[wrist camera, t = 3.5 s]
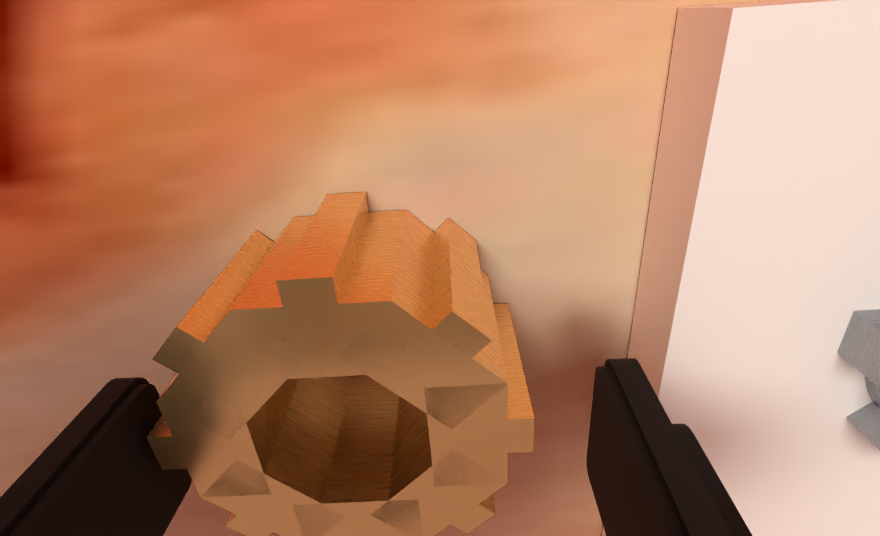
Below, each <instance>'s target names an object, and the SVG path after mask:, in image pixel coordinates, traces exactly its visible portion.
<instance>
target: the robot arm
mask: <svg viewBox="0 0 880 536" xmlns="http://www.w3.org/2000/svg"><path fill="white" fill-rule="evenodd" d="M159 398H160V396H159V394H158V392H157V390H156V388H155V386H153V385H152V384H149V382H148V381H147V380H146V379H144V378H116V379H113V380H111V381H110V382H108V383H107V384H106V385H105V386H104V387H103V388H102V389H101V391H100V392H99V393H98V394H97V395H96V396H95V397H94V398H93V399H92V400H91V401H90V402H89V403H88V404H87V406H86V407H85V408H84V409H83V410H82V411H81V412H80V413H79V414H78V415H77V416H76V417H75V418H74V419H73V421H72V422H71V423H70V424H69V425H68V426H67V427H66V428H65V429H64V430H63V431H62V432H61V433H60V434H59V435H58V437H57V438H56V439H55V440H54V441H53V442H52V443H51V444H50V445H49V446H48V447H47V448H46V449H45V450H44V452H43V453H42V454H41V455H40V456H39V457H38V458H37V459H36V460H35V461H34V462H33V463H32V464H31V465H30V467H29V468H28V469H27V470H26V471H25V472H24V473H23V474H22V475H21V476H20V477H19V478H18V479H17V480H16V481H15V483H14V484H13V485H12V486H11V487H10V488H9V489H8V490H7V491H6V492H5V493H4V494H3V495H2V496H1V498H0V536H163V534H164V533H165V531H166V529H167V527H168V525H169V524H170V522H171V520H172V518H173V516H174V515H175V513H176V511H177V509H178V507H179V506H180V504H181V502H182V500H183V498H184V497H185V495H186V493H187V491H188V489H189V487H190V485H191V481H192V479H191V477H190V475H189V472H188V470H187V469H170V470H162V468H161V466H160V464H159V462H158V460H157V458H156V456H155V454H154V452H153V450H152V448H151V446H150V444H149V442H148V440H147V436H148V435H149V433H150V432H151V430H152V429H153V427H154V426H155V424H156V423H157V422H158V420H159V419H160V417H161V416H162V413H161V411H160V409H159V407H158V404H157V400H158V399H159ZM587 470H588V476H589V479H590V483H591V486H592V489H593V493H594V496H595V500H596V503H597V506H598V510H599V513H600V516H601V520H602V523H603V527H604V530H605V533H606V536H752V534H751V532H750V530H749V529H748V527H747V525H746V523H745V522H744V520H743V518H742V516H741V515H740V513H739V511H738V510H737V508H736V506H735V504H734V503H733V501H732V499H731V497H730V496H729V494H728V492H727V490H726V489H725V487H724V485H723V484H722V482H721V480H720V478H719V477H718V475H717V473H716V471H715V470H714V468H713V466H712V465H711V463H710V461H709V459H708V458H707V456H706V454H705V452H704V451H703V449H702V447H701V445H700V444H699V442H698V440H697V439H696V437H695V435H694V433H693V432H692V431H691V429H690V428H689V427H688V426H687V425H685V424H672V423H671V421H670V419H669V417H668V415H667V414H666V412H665V410H664V408H663V406H662V404H661V402H660V401H659V399H658V397H657V395H656V393H655V391H654V389H653V388H652V386H651V384H650V382H649V380H648V378H647V376H646V375H645V373H644V371H643V369H642V367H641V365H640V363H639V362H638V360H637V359H635V358H626V359H607V360H606V362H605V365H604V367H597V368H596V372H595V381H594V391H593V401H592V411H591V421H590V430H589V440H588V450H587Z"/></svg>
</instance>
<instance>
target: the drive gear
mask: <svg viewBox="0 0 880 536" xmlns="http://www.w3.org/2000/svg"><path fill="white" fill-rule="evenodd" d="M837 352H838V353H839V354H840V355H841V356H842V357H844V358H845V359H846V360H847V361H848V362H849V363H851V364H852V365H853V366H854V367H855V368H856V369H857V370H859V371H860V372H861V373H862V374H863V375H864V377H865V383H866V388H867V392H868V394H869V396H870V399H871V401H872V402H871V403H869V404H867V405H866V406H864V407H862V408H860V409H859V410H857V411H855V412H854V413H852V414H850V415H848V416H847V418H848V419H849V420H850V421H851V422H852V423H853V424H854V425H855V426H856V427H857V428H858V429H859V430H860V431H861V432H862V433H863V434H864V435H865V436H866V437H867V438H868V439H869V440H870V441H871V443H872V444H873V445H874V446H875V447H876V448H877V449H878V450H879V451H880V309H877V310H859V311H853V314H852V316H851V319H850V321H849V324H848V326H847V329H846V331H845V334H844V336H843V339H842V341H841V344H840V346H839V349H838V351H837Z"/></svg>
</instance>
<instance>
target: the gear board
mask: <svg viewBox="0 0 880 536" xmlns="http://www.w3.org/2000/svg"><path fill="white" fill-rule="evenodd" d="M877 309H880V0H777V1H764V2H751V3H737V4H724V5H710V6H697V7H684V8H678V13H677V20H676V27H675V34H674V40H673V47H672V54H671V61H670V68H669V75H668V82H667V89H666V96H665V102H664V109H663V116H662V123H661V130H660V137H659V144H658V151H657V158H656V164H655V171H654V178H653V185H652V192H651V199H650V206H649V213H648V219H647V226H646V233H645V240H644V247H643V254H642V261H641V268H640V275H639V281H638V288H637V295H636V302H635V309H634V316H633V323H632V330H631V336H630V343H629V350H628V357H627V358H635V359H637V360H638V362H639V363H640V365H641V367H642V369H643V371H644V373H645V375H646V376H647V378H648V380H649V382H650V384H651V386H652V388H653V389H654V391H655V393H656V395H657V397H658V399H659V401H660V402H661V404H662V406H663V408H664V410H665V412H666V414H667V415H668V417H669V419H670V421H671V423H672V424H685V425H687V426H688V427H689V428H690V429H691V431H692V432H693V433H694V435H695V437H696V439H697V440H698V442H699V444H700V445H701V447H702V449H703V451H704V452H705V454H706V456H707V458H708V459H709V461H710V463H711V465H712V466H713V468H714V470H715V471H716V473H717V475H718V477H719V478H720V480H721V482H722V484H723V485H724V487H725V489H726V490H727V492H728V494H729V496H730V497H731V499H732V501H733V503H734V504H735V506H736V508H737V510H738V511H739V513H740V515H741V516H742V518H743V520H744V522H745V523H746V525H747V527H748V529H749V530H750V532H751V534H752V536H880V451H879V450H878V449H877V448H876V447H875V446H874V445H873V444H872V443H871V441H870V440H869V439H868V438H867V437H866V436H865V435H864V434H863V433H862V432H861V431H860V430H859V429H858V428H857V427H856V426H855V425H854V424H853V423H852V422H851V421H850V420H849V419H848V418H847V416H848V415H850V414H852V413H854V412H855V411H857V410H859V409H860V408H862V407H864V406H866V405H867V404H869V403H871V402H872V401H871V399H870V396H869V394H868V392H867V388H866V383H865V377H864V375H863V374H862V373H861V372H860V371H859V370H857V369H856V368H855V367H854V366H853V365H852V364H851V363H849V362H848V361H847V360H846V359H845V358H844V357H842V356H841V355H840V354H839V353H838V352H837V351H838V349H839V346H840V344H841V341H842V339H843V336H844V334H845V331H846V329H847V326H848V324H849V321H850V319H851V316H852V314H853V311H859V310H877ZM602 536H606V533H605V530H604V527H603V529H602Z"/></svg>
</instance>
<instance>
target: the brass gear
mask: <svg viewBox="0 0 880 536" xmlns="http://www.w3.org/2000/svg"><path fill="white" fill-rule="evenodd" d="M153 360H155V361H156V362H158V363H160V364H162V365H164V366H165V367H167V368H169V369H171V370H173V371H174V372H176V373H177V374H176V375H175V377H174V378H173V379H172V381H171V382H170V384H169V385H168V386H167V388H166V389H165V391H164V392H163V393H162V395H161V396H160V398H159V399H158V400H157V404H158V407H159V409H160V411H161V413H162V416H161V417H160V419H159V420H158V422H157V423H156V424H155V426H154V427H153V429H152V430H151V432H150V433H149V435H148V436H147V440H148V442H149V444H150V446H151V448H152V450H153V452H154V454H155V456H156V458H157V460H158V462H159V464H160V466H161V468H162V470H170V469H187V470H188V472H189V475H190V477H191V479H192V481H193V483H194V486H195V488H196V490H197V492H198V494H199V496H200V498H202V499H204V500H206V501H208V502H211V503H213V504H215V505H217V506H219V507H221V508H223V509H225V510H227V511H229V512H231V514H230V516H229V519H228V521H227V523H226V527H228V528H230V529H232V530H234V531H237V532H239V533H241V534H243V535H245V536H270V535H271V534H272V533H276V534H278V535H280V536H435V535H436V534H438V533H439V532H440V531H442V530H443V529H445V528H446V527H447V526H449V525H452V526H453V527H455V528H457V529H459V530H461V531H462V532H464V533H466V534H468V533H469V532H471V531H472V530H473V529H475V528H476V527H478V526H479V525H481V524H482V523H484V522H485V521H486V520H488V519H489V518H491V517H492V516H494V515H495V506H494V497H493V493H495V492H496V491H498V490H499V489H500V488H502V487H503V486H505V485H506V484H507V483H508V453H523V452H533V449H534V420H535V418H534V414H533V409H532V405H531V401H530V396H529V392H528V388H527V384H526V379H525V375H524V371H523V366H522V362H521V358H520V353H519V349H518V345H517V341H516V336H515V332H514V328H513V323H512V319H511V315H510V310H509V306H508V303H505V304H493V300H492V294H491V289H490V283H489V278H488V275H487V274H486V273H485V272H483V271H482V270H481V268H480V262H479V256H478V250H477V243H476V240H475V239H474V238H472V237H471V236H470V235H469V234H467V233H466V232H465V231H464V230H463V229H461V228H460V227H459V226H458V225H456V224H455V223H454V222H453V221H452V220H450V219H449V218H448V219H447V220H446V221H445V222H444V223H443V224H442V225H441V226H440V227H439V228H438V229H437V230H436V231H435V232H433V231H432V230H431V229H429V228H428V227H427V226H426V225H424V224H423V223H422V222H421V221H419V220H418V219H417V218H416V217H414V216H413V215H412V214H411V213H409V212H408V211H407V210H396V211H381V212H369V209H368V202H367V196H366V192H357V193H342V194H327V196H326V197H325V199H324V201H323V202H322V204H321V206H320V207H319V209H318V211H317V212H316V214H315V216H302V217H294V218H293V219H292V220H291V222H290V223H289V224H288V225H287V227H286V228H285V229H284V230H283V232H282V233H281V234H280V236H279V237H278V238H277V239H276V241H275V242H273V241H271V240H270V239H269V238H267V237H266V236H264V235H263V234H261V233H260V232H258V231H257V230H256V231H255V232H254V233H253V234H252V235H251V237H250V238H249V239H248V240H247V242H246V243H245V244H244V245H243V246H242V248H241V249H240V250H239V251H238V253H237V254H236V255H235V256H234V257H233V259H232V260H231V261H230V262H229V264H228V265H227V266H226V267H225V268H224V270H223V271H222V272H221V273H220V275H219V276H218V277H217V278H216V279H215V281H214V282H213V283H212V284H211V286H210V287H209V288H208V289H207V290H206V292H205V293H204V294H203V295H202V296H201V298H200V299H199V300H198V301H197V303H196V304H195V305H194V306H193V307H192V309H191V310H190V311H189V312H188V314H187V315H186V316H185V317H184V318H183V320H182V321H181V322H180V323H179V325H178V326H177V327H176V328H175V330H174V331H173V332H172V334H171V335H170V336H169V338H168V339H167V340H166V342H165V343H164V344H163V346H162V347H161V348H160V350H159V351H158V352H157V354H156V355H155V356H154V358H153ZM354 375H367V376H354Z"/></svg>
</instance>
